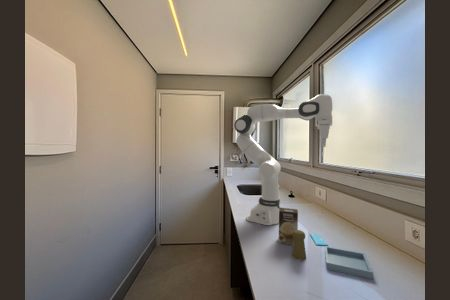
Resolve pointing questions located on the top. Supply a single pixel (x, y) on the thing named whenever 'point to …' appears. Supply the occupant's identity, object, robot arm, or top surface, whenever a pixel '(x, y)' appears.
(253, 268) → the top surface
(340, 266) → the tray
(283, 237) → the coffee box
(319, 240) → the sponge
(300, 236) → the cork
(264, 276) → the top surface
